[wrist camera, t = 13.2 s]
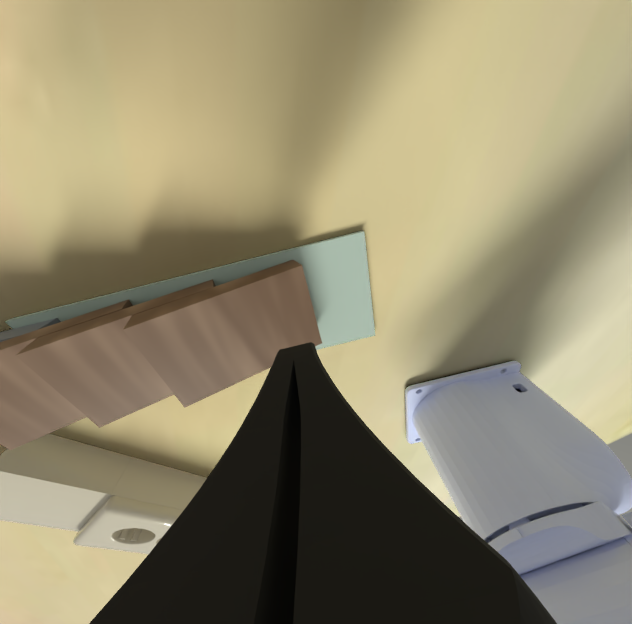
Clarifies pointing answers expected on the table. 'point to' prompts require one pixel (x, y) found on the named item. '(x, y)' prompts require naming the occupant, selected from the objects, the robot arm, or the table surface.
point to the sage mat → (316, 259)
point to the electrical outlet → (93, 493)
